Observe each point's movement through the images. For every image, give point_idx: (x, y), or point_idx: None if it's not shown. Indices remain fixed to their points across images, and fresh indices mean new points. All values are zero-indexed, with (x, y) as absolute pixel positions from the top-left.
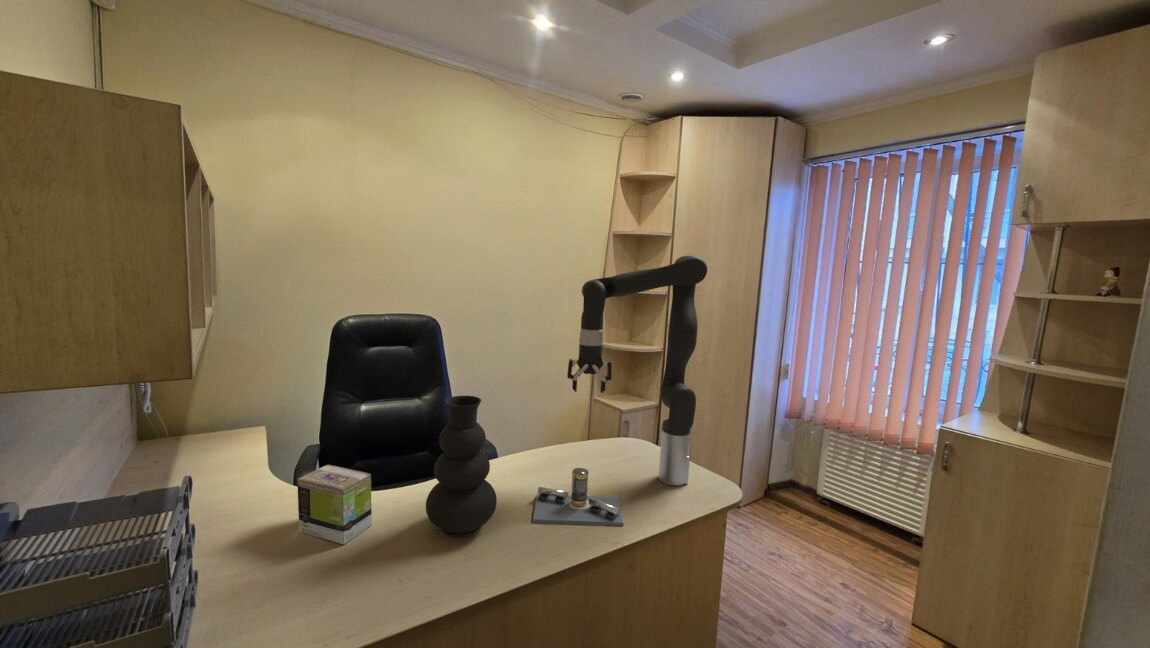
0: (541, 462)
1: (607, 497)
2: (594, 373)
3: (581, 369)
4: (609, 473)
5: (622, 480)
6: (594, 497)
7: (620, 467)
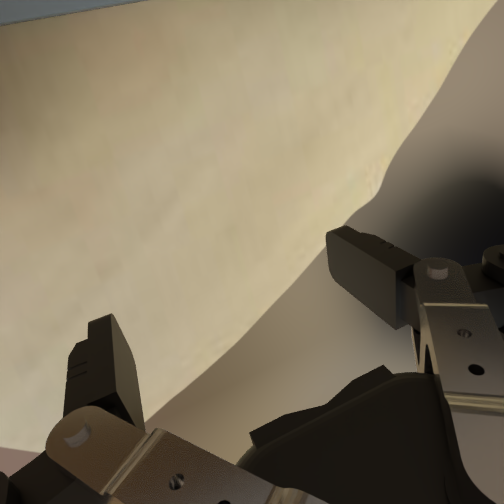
0: (281, 211)
1: (3, 15)
2: (255, 444)
3: (501, 368)
4: (73, 223)
5: (10, 192)
6: (53, 2)
7: (52, 277)
